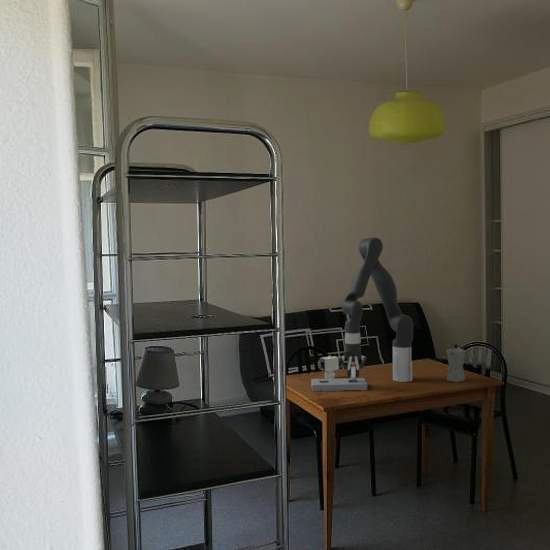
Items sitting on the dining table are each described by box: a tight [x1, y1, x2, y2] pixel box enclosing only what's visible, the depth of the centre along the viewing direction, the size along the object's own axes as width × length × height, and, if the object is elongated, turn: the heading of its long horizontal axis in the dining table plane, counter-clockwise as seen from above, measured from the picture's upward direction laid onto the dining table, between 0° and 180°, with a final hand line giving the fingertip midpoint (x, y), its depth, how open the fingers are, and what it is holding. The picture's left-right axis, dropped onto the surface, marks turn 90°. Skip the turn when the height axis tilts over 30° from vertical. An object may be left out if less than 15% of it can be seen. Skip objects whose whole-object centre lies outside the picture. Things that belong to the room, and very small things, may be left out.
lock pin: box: [350, 361, 357, 382], centre depth 301 cm, size 4×4×12 cm
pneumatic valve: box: [317, 355, 343, 379], centre depth 320 cm, size 6×12×12 cm, turn 108°
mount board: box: [310, 377, 368, 392], centre depth 302 cm, size 26×12×3 cm, turn 89°
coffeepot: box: [446, 344, 466, 382], centre depth 312 cm, size 15×9×18 cm, turn 147°
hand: (353, 377), depth 301 cm, fingers closed on lock pin, 3 cm apart
